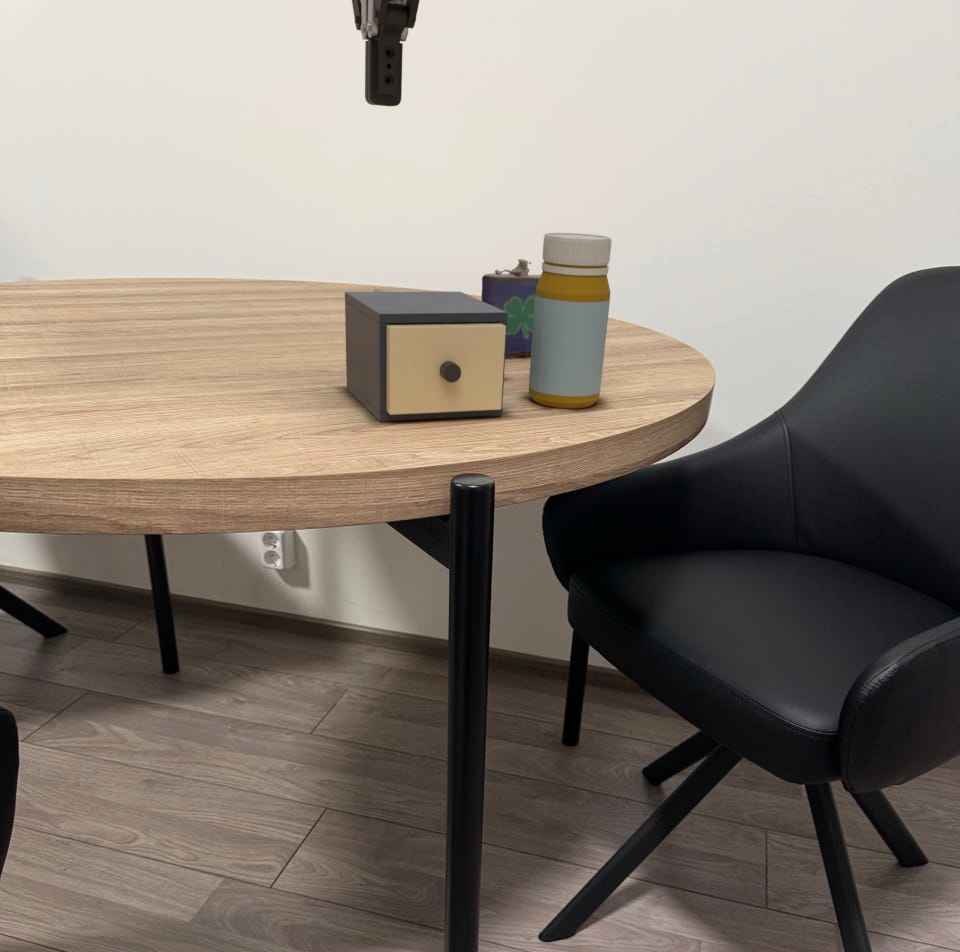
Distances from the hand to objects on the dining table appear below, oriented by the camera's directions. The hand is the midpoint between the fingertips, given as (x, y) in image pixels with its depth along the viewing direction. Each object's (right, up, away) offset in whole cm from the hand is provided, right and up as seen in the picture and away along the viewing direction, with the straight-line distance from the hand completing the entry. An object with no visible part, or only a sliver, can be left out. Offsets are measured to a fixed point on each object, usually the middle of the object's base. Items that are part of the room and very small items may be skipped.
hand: (383, 105), depth 65 cm
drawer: (+2, -14, +23) cm, 27 cm away
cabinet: (+1, -14, +25) cm, 29 cm away
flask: (+11, -3, +47) cm, 49 cm away
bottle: (+15, -13, +28) cm, 34 cm away
